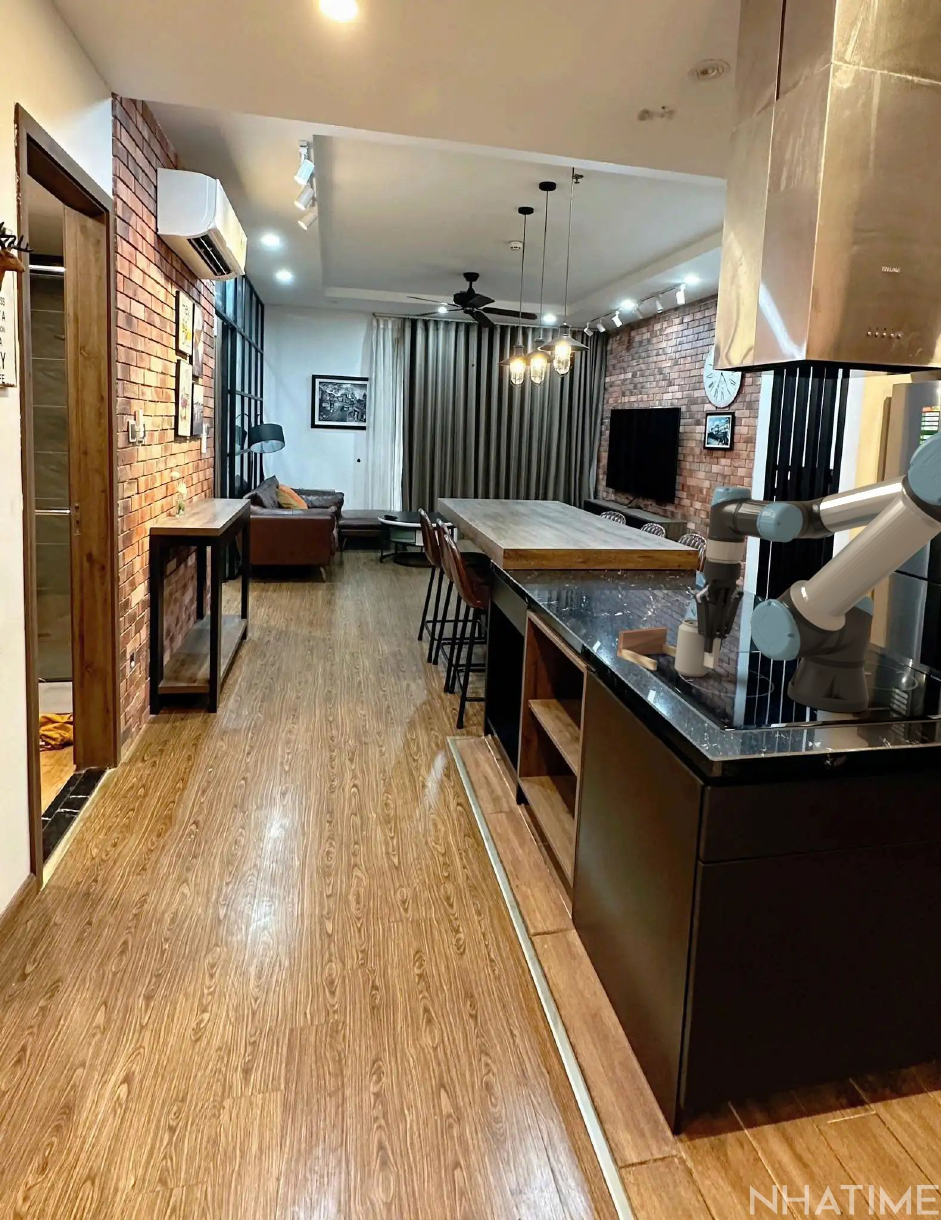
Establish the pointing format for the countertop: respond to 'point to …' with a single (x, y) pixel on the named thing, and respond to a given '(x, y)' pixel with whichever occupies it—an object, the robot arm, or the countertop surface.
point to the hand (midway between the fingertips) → (710, 666)
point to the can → (690, 650)
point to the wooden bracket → (644, 645)
